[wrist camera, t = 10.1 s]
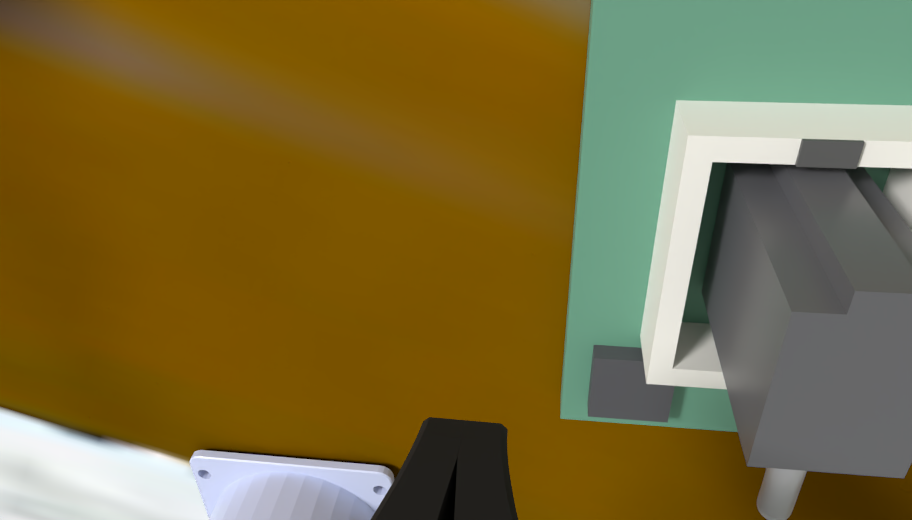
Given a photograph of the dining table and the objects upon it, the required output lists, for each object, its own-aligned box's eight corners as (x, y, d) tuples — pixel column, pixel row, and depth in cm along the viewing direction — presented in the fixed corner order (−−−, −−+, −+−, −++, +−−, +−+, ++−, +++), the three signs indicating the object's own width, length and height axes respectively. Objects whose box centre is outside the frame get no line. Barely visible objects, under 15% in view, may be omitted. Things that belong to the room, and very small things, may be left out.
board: (877, 419, 23) (916, 500, 20) (560, 396, 24) (559, 470, 21) (1082, -53, 15) (1188, -18, 12) (595, -52, 16) (600, -20, 14)
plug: (788, 389, 21) (856, 577, 16) (683, 383, 21) (717, 564, 16) (865, 142, 17) (990, 297, 12) (731, 139, 17) (798, 288, 12)
